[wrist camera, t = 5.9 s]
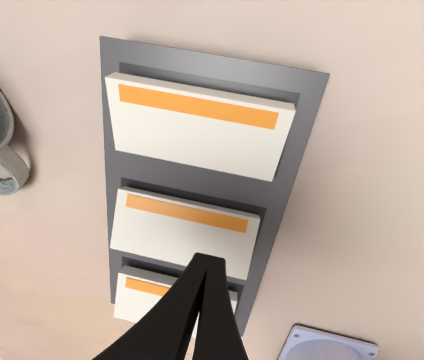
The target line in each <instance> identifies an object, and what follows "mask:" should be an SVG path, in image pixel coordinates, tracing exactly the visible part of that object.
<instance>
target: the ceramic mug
mask: <svg viewBox="0 0 424 360" xmlns="http://www.w3.org/2000/svg"><path fill="white" fill-rule="evenodd" d="M13 131H14V117H13V114H12V111H11V108H10V106H9V104H8V102H7V100H6V98H5V96H4V95H3V94H2V92H1V91H0V165H1V166H2V167H3V168H4V169H5V170H6V171H7V172H8V173H9V174H10V175H11V176H12V178H13V179H10V180H1V181H0V195H9V194H13V193H15V192H17V191H18V190H20V189H21V188H22V186H23V185H24V183H25V182H26V181H27V179H28V177H29V169H28V167H27V165H26V163H25V162H24V161H23V159H22V158H21V157H20V156H19V155H18V154H17V153H16V152H15V151H14V150H13V149H11V148H10V147H9V146H8V145H7V144H8V143H9V141H10V140H11V137H12V135H13Z"/></svg>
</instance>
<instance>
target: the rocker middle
mask: <svg viewBox="0 0 424 360" xmlns="http://www.w3.org/2000/svg"><path fill="white" fill-rule="evenodd" d="M259 223H260V217H259V215H257V214H252V213H248V212H243V211H238V210H234V209H229V208H224V207H220V206H215V205H210V204H206V203H201V202H196V201H192V200H187V199H182V198H178V197H173V196H168V195H164V194H159V193H154V192H150V191H145V190H140V189H136V188H131V187H126V186H125V187H122V188H119V189H118V192H117V199H116V207H115V214H114V221H113V229H112V236H111V243H110V248H112V249H116V250H120V251H124V252H129V253H133V254H137V255H141V256H145V257H150V258H154V259H158V260H162V261H167V262H171V263H175V264H179V265H183V266H187V265H188V264H189V262H190V261H191V259H192V257H193V255H194V254H195V253H197V252H199V253H203V254H208V255H212V256H217V257H221V258H224V259H225V260H226V276H230V277H234V278H238V279H243V280H247V275H248V271H249V267H250V262H251V258H252V254H253V249H254V245H255V241H256V236H257V232H258V228H259Z"/></svg>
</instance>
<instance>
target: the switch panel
mask: <svg viewBox="0 0 424 360" xmlns="http://www.w3.org/2000/svg"><path fill="white" fill-rule="evenodd" d="M100 56H101V79H102V102H103V126H104V149H105V172H106V195H107V219H108V242H109V265H110V289H111V303H113V304H115V299H116V290H117V280H118V272H119V271H120V270H121V269H122V268H123V266H124V265H126V266H130V267H134V268H138V269H142V270H147V271H151V272H155V273H159V274H163V275H167V276H171V277H176V278H179V276H180V275H181V274H182V272H183V271H184V270H185V268H186V267H187V266H183V265H179V264H175V263H171V262H167V261H162V260H158V259H154V258H150V257H145V256H141V255H137V254H133V253H129V252H124V251H120V250H116V249H112V248H110V243H111V236H112V229H113V221H114V214H115V207H116V199H117V192H118V189H119V188H122V187H125V186H126V187H131V188H136V189H140V190H145V191H150V192H154V193H159V194H164V195H168V196H173V197H178V198H182V199H187V200H192V201H196V202H201V203H206V204H210V205H215V206H220V207H224V208H229V209H234V210H238V211H243V212H248V213H252V214H257V215H259V217H260V223H259V228H258V232H257V236H256V241H255V245H254V249H253V254H252V258H251V262H250V267H249V271H248V275H247V280H243V279H238V278H234V277H230V276H226V277H227V284H228V290H229V291H234V292H237V305H236V309H235V313H234V316H235V320H236V324H237V327H238V330H239V334H240V336H242V337H243V334H244V331H245V328H246V325H247V322H248V319H249V316H250V313H251V310H252V307H253V304H254V301H255V298H256V295H257V292H258V289H259V286H260V283H261V280H262V277H263V274H264V271H265V268H266V265H267V262H268V259H269V256H270V253H271V250H272V247H273V244H274V241H275V238H276V235H277V232H278V229H279V226H280V223H281V220H282V217H283V214H284V211H285V208H286V205H287V202H288V199H289V196H290V193H291V190H292V187H293V184H294V181H295V178H296V175H297V172H298V169H299V166H300V163H301V160H302V157H303V154H304V151H305V148H306V145H307V142H308V139H309V136H310V133H311V130H312V127H313V124H314V121H315V118H316V115H317V112H318V109H319V106H320V103H321V100H322V97H323V94H324V91H325V88H326V85H327V82H328V79H329V76H330V74H329V73H323V72H316V71H310V70H304V69H298V68H292V67H286V66H280V65H274V64H268V63H262V62H256V61H250V60H244V59H238V58H232V57H226V56H220V55H214V54H208V53H202V52H195V51H189V50H183V49H177V48H171V47H165V46H159V45H153V44H147V43H141V42H135V41H129V40H123V39H117V38H111V37H105V36H100ZM114 72H117V73H123V74H129V75H134V76H140V77H146V78H151V79H157V80H163V81H168V82H174V83H179V84H185V85H191V86H196V87H202V88H208V89H213V90H219V91H225V92H230V93H236V94H242V95H247V96H253V97H259V98H264V99H270V100H276V101H281V102H287V103H293V104H294V106H295V110H296V112H295V115H294V118H293V121H292V124H291V127H290V130H289V133H288V136H287V138H286V141H285V144H284V147H283V150H282V153H281V156H280V159H279V162H278V165H277V168H276V171H275V174H274V177H273V180H272V182H271V181H266V180H261V179H256V178H251V177H246V176H241V175H236V174H231V173H226V172H221V171H216V170H212V169H207V168H202V167H197V166H192V165H187V164H182V163H177V162H172V161H167V160H162V159H157V158H152V157H147V156H143V155H138V154H133V153H128V152H123V151H118V150H115V143H114V137H113V130H112V123H111V116H110V110H109V103H108V96H107V89H106V83H105V77H106V76H108V75H110V74H112V73H114Z"/></svg>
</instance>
